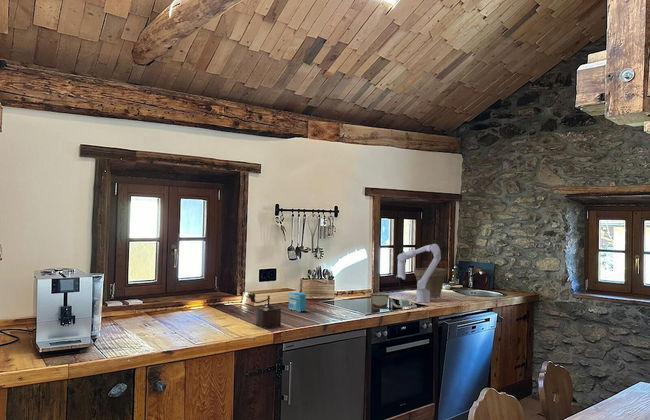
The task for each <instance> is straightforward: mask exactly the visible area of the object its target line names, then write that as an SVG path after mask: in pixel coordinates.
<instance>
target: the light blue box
mask: <svg viewBox="0 0 650 420" xmlns="http://www.w3.org/2000/svg"><path fill="white" fill-rule="evenodd" d="M306 298H307V297H306V293H305V292H301V291H300V292H299V291H289V293H288V310H289V309H292V310H296V311H305V312H306V308H307V307H306V304H307V303H306V302H307V301H306Z"/></svg>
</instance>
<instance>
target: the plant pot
mask: <svg viewBox="0 0 650 420" xmlns="http://www.w3.org/2000/svg"><path fill="white" fill-rule="evenodd" d="M427 269H428V267H417V268H414V269H413V274H414V276H415V278H416V283H417V282H418V281H419V280H420V279H421V278H422V277H423V275H424V273H425V272H426V270H427ZM446 276H447V269H445V268H443V267H442V268H441V267H436V268H435V269H434V271H433V273H432V274H431V276H430V278H429V279H428V281H427V283H426V287H425V288H426V290H429V291H430V299H431V298H432V299H433V298H435V299H436V298H440V297H441V294H442V291H443V287H444V282H445V277H446Z"/></svg>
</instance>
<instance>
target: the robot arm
mask: <svg viewBox="0 0 650 420" xmlns="http://www.w3.org/2000/svg"><path fill="white" fill-rule="evenodd" d="M424 252H431V253H432V255H433V258H432V260H431V262H430V264H429V265H428V267H427V268H428V269H427V270H426V272H425V273H424V275H423V277H422V278H421V279H420V280H419V281H418V282H417V281H416V286H417V288H416V299H415V300H414V301H415V302H417V303H431V298H430V291H429V290H426V288H425V287H426V283H427V281H428V279H429V278H430V276H431V274H432V273H433V271H434V269H435V268H437V266H438V264H439V263H440V261H441V259H442V257H441V248H440V246H439V245H438V244H437V243H432V244H428V245H424V246H422V247H420V248H419V247H418V248H417V249H415V250H414V249H408V250H407V251H402V253H399V254H398V255H397V275H395V277H396V278H397V281H398V282H397V283H398V284H399V289H404V285H405V282H406V280H407V279H406V260H410V259H412V258H415V257H416V255H418V254H420V253H421V254H422V253H424Z"/></svg>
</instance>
